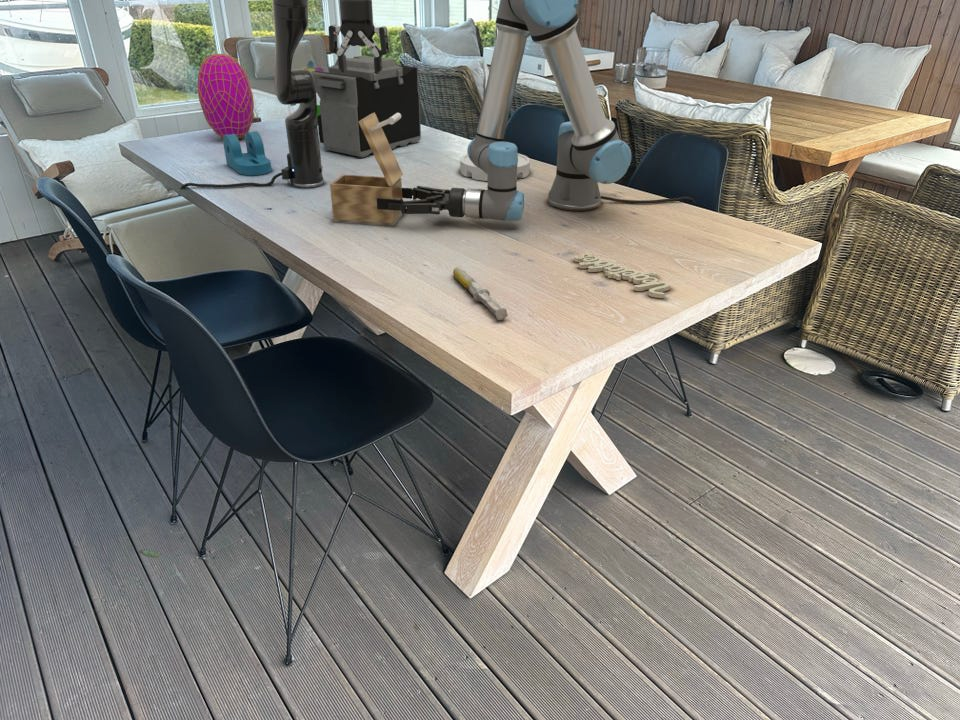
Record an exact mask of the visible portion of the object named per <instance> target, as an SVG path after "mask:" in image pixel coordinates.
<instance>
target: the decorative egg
mask: <svg viewBox="0 0 960 720" xmlns="http://www.w3.org/2000/svg"><path fill="white" fill-rule="evenodd" d="M197 94H198V101H199V104H200V107H201V110H202V113H203V116H204V119H205V120H206V122H207V124H208V126H209V127H210V128H211V130H212V131H213V132H214V133H215V134H216V135H217V136H218V137H220V138H221V139H223V137H224V135H230V134H235V135H236V136H237V138H238V140H239V139H242V138H243V137H246V133H247V132H250V129H251V126H252V124H253V119H254V111H255V110H254V108H255V107H254V106H255V101H254V95H253V91H252V87H251V84H250V81H249V78H248V75H247V74H246V71H245V69H244V68H243V66H242V65H241V64H240V63H239V62H238V60H237V59H236V58H234V57H233V56H231V55H229V54H225V53H214V54H211V55H209V56H206V57H205V59H204V60H203V61H202V63H201V64H200V67H199V70H198V74H197Z"/></svg>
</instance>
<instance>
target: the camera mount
mask: <svg viewBox="0 0 960 720" xmlns="http://www.w3.org/2000/svg"><path fill="white" fill-rule="evenodd" d="M244 137H245V146H246V152H243V151H242V150H243V149H242V146H241V142H240V140H239V139H238V138H237V136H236V135H235V134H230V135H224V137H223V138H222V140H223V141H222V143H223V149H224V150H223V151H224V156H225V161H226V165H227V166H228V167H230V168H231V169H232V170H234V171H236V172H237V173H238V174H239V175H244V176H260V175H265V174H268V173H271V172H272V164H271V159H270V158H268V157H267V156H266V153H265V145H264V141H263V139H262V136H261V134H260V132H258V131H248V132H247V133H246V135H245V136H244Z"/></svg>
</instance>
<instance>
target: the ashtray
mask: <svg viewBox="0 0 960 720" xmlns="http://www.w3.org/2000/svg"><path fill="white" fill-rule="evenodd" d="M459 171H460V175H462V176H463V177H466V178H471V179H472V180H475V181H482V182H488V175H487V174H486V173H485V172H484V171H483V170H481V169H480V168H478V167H476V166H475V165H474V164H473V163H472V161H471V160H470V159H469V157H468V153H467V154H464V155H462V156H461V157H460V159H459ZM530 172H531V159H530V158H529V156H527V155H525V154H522V153H518V163H517V179H523V178H524V179H525V178H526V177H528V176H530Z"/></svg>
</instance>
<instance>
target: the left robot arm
mask: <svg viewBox="0 0 960 720" xmlns="http://www.w3.org/2000/svg"><path fill="white" fill-rule="evenodd" d="M272 12H273V13H272V15H273V25H274V26H273V27H274V53H275V54H274V79H273V80H274V91H275V95H276V98H277V100H278V102H279V103H280V104H281V105H284V106H291V105H299V106H298V107H297V109H296V110H295V111H294V112H293V113H290V114H289V115H287V116H286V117H285V120H284V123H285V131H286V138H287V146H288V153H287V154H286V161H287V166H286V167H283V168H281V170H280V171H281V172H278V173H276V174H275V175H274V176H273V177H272V178H271V180H270V181H269V182H266V183H260V182H259V183H258V182H239V183H229V184H213V183H197V182H186V183H184V184H182V186H180V187H179V190H184V189H185V188H187V187H197V188H215V189H216V188H217V189H219V188H223V189H224V188H225V189H226V188H237V187H247V186H250V187H251V186H252V187H270V186H272V185H273V184H274V183H275V181H276V179H277V178H279V177H281V179H282V180H285V181H286V180H287V181H289V184H290V186H294V187H296V188H300V189H301V188H303V189H310V188H317V187H320V186H322V185H324V184H325V182H324V175H323V171H324V169H323V165H322V157H321V147H320V139H319V130H318V124H317V117H318V114H317V105H318V101H317V100H318V99H317V93H316V85H315V80H314V77H313V75H312V73H311V72H310V71H309V70H307V69H308V68H307V69H302V68H298V69H292V65H293V58H294V54H295V52H296V50H297V48H298V46H299V44H300V42H301V40H302V38H303V37H304V35H305V33H306V31H307V28H308V25H309V0H272ZM339 12H340V14H339V15H340V26H339V25H336V24H331V25H329V26H328V48H329V52H330V53H331V54H334V55H336V57H337V59H338V65H339V69H340V70H341V72H342V73H345V72H347V65H346V58H347V56H346V55H345V54H346V52H347V51H348V49H349V48H350V47H357V46H359V47H367V48H368V50H370V51H371V53H372V54H373V57H374V69H375V74H379V73H380V71H382V58H383V56H385V55H387V54H389V53H390V46H389V38H388V37H389V36H388V29H387V26H380V27H379V26H378V27H375V25H374V14H373V13H374V12H373V0H339ZM339 34H341V35H342V36H343V37H344V38H343V40H342V41H341V43H340V45H339V47H338V36H339ZM375 34H376V36H377V37H378V38H379V42H380V44H379V45H380V48H379V46H378V44H377V42H376V41H375V39H374V38H373V37H374V36H375Z"/></svg>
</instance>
